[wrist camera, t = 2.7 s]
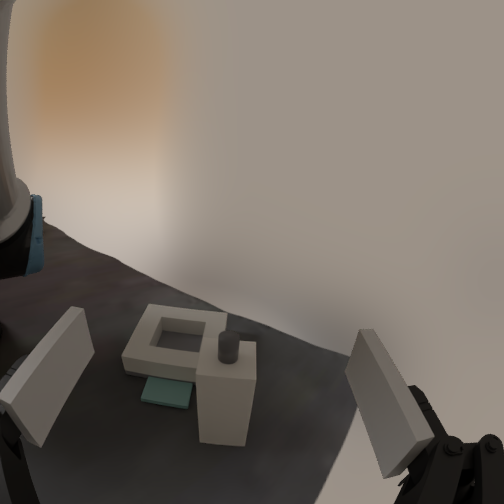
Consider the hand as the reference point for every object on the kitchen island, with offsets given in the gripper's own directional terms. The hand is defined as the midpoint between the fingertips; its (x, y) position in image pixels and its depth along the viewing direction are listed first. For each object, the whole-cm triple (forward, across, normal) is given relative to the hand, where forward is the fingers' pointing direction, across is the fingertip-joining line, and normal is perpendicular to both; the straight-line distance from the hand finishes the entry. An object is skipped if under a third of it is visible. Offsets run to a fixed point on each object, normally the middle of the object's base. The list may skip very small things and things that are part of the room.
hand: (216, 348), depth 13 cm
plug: (+10, 0, -21) cm, 23 cm away
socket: (+21, -7, -20) cm, 30 cm away
